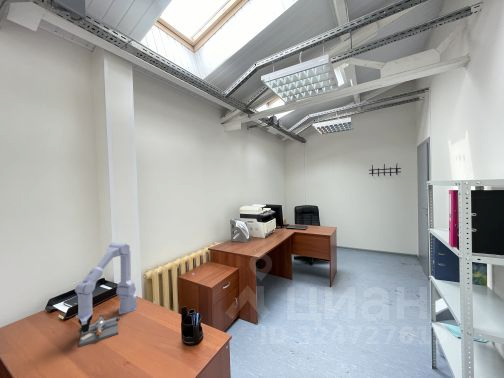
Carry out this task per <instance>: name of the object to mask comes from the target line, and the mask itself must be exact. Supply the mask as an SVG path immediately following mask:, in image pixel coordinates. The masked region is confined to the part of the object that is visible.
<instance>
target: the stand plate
mask: <svg viewBox="0 0 504 378" xmlns="http://www.w3.org/2000/svg"><path fill="white" fill-rule="evenodd" d="M117 317H118V316H115V317H111V318H107V319H105V321H107V320H110V319H114V318H117ZM93 324H95V322H94V323H90V325H93ZM118 324H119V321H116V322H113V323H110V324H106V327H105V329H104V330H102V334H101V335H99V336H97V335H96V333H91V329H90V330H88V331H87V332H84V333H83V332H81V335H80V339H79V343H78V346H79V348H80V347H83V346H86V345H90V344H92V343H95V342H99V341H101V340H104V339H107V338H111V337H113V336H117V335H119V325H118Z"/></svg>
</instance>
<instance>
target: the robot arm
mask: <svg viewBox="0 0 504 378" xmlns="http://www.w3.org/2000/svg"><path fill="white" fill-rule="evenodd" d="M116 257H120V282H118V283H117V288H116V295H117V296H118V298H119V307H118V315H123V314H126V313H127V314H128V313H129V312H133V311H137V309H138V307H137V305H138V302H137V300H138V299H137V293H136V286H135V282H134V281H133V280H132V278H131V276H132V274H131V272H132V271H131V269H132V268H131V259H132V258H131V249H130V244H127V243H123V242H122V243H120V242H112V243H110V244H109V245H108V247H107V248H106V253H105V254H104V255H103V257H102V258H101V260H100V261H99V263H98V264H97V266H96V267H94V268H92V269H90V271H89V273H88V274H87V275H86V277H84V279H83V280H82V281H80V282H79V283H78V284H77V285H76V287H75V289H74V292H75V293H76V294H77V302H78V303H77V304H78V305H77V306H78V307H77V308H78V310H77V311H78V314H76V315H75V319H78V320H77V321H78V324H79V325H80V326H81V327H82V331H83V333H84V332H87V331H88V330H89V325H90V324H91V321H92V319H93V317H94V316H93V314H94V310H93V291H95V288H96V285H97V282H98V281H99V279H100V278H101V276H103V273H104V269H105V268H106V267H107V265H108V264H109V263H110V262H111V261H112V259H114V258H116ZM81 327H80V328H81Z"/></svg>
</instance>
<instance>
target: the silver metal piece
mask: <svg viewBox="0 0 504 378" xmlns="http://www.w3.org/2000/svg"><path fill="white" fill-rule="evenodd" d="M97 317H98V320H96V321H95V322H94V323H95V324H94V323H92V324H93V325H89V330H90V329H91V333H96V335H97V336H99V335H101V334H102V330H104V329H105V327H106V324H110V323H113V322H116V321H118V322H119V321H120V320H121V318H120V316H116V317H117V318H114V317H113V318H114V319H111V318H109V319H110V320H108V319H104V315H103V314H99V315H98V316H97ZM105 320H107V321H105ZM77 332H78V333H81V334H82V332H83V331H82V327H79V328H78V331H77Z"/></svg>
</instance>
